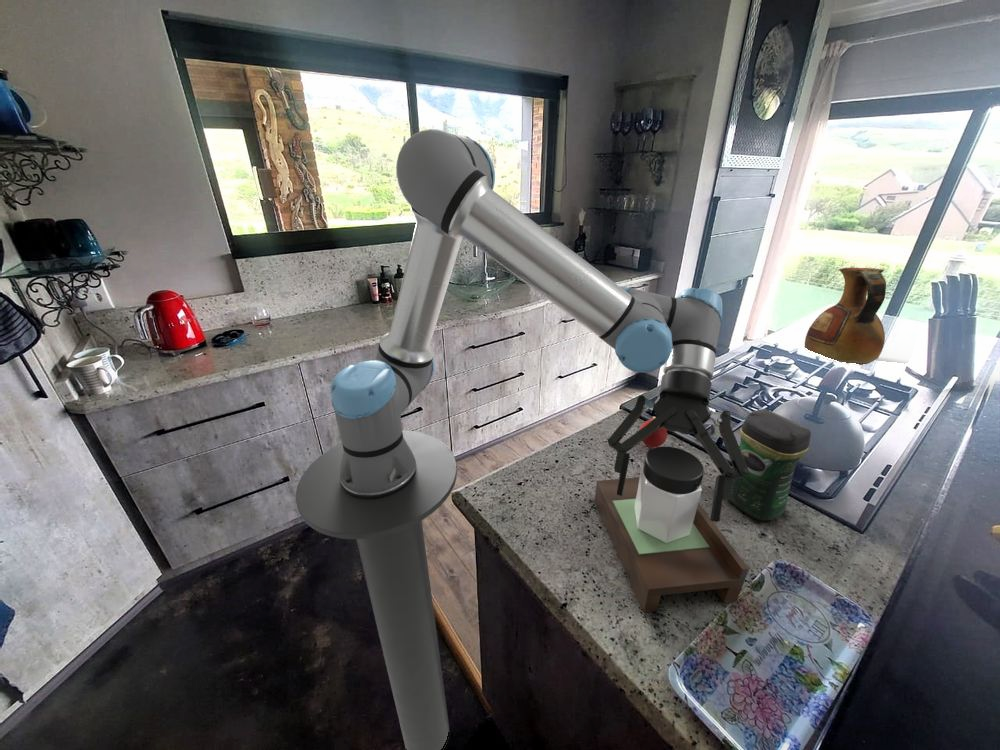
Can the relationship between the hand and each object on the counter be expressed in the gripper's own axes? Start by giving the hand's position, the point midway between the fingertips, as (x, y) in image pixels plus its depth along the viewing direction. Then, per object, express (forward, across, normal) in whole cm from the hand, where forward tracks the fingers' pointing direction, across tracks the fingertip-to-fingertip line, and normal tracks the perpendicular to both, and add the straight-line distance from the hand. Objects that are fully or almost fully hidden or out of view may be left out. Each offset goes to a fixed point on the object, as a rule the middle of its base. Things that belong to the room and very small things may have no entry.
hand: (665, 507), depth 61 cm
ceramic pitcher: (-67, -48, -82) cm, 116 cm away
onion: (-14, +3, -29) cm, 32 cm away
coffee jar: (-6, -16, -21) cm, 27 cm away
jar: (+2, 0, -6) cm, 6 cm away
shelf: (+6, 0, -9) cm, 11 cm away
